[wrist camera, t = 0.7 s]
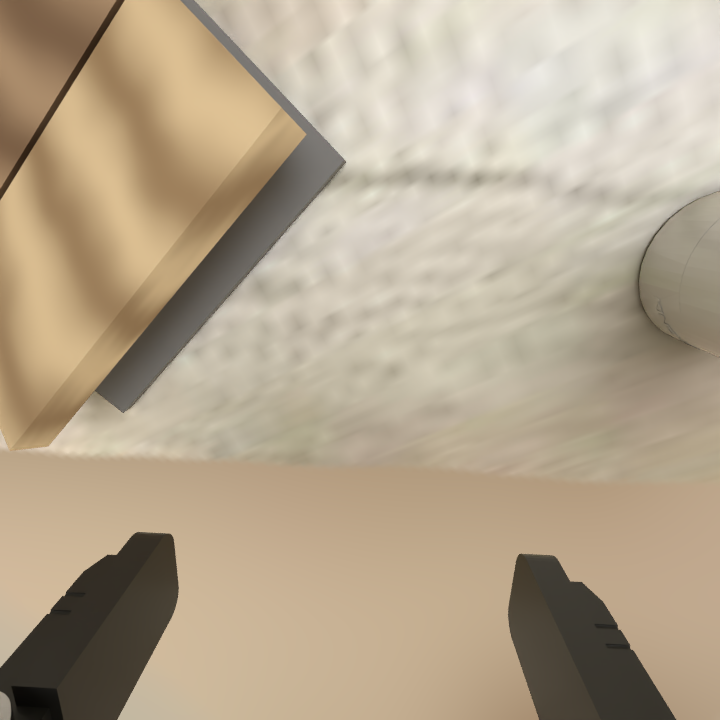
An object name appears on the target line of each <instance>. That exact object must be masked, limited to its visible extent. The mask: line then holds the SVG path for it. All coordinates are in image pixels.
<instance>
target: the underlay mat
mask: <svg viewBox="0 0 720 720" xmlns="http://www.w3.org/2000/svg"><path fill="white" fill-rule="evenodd" d="M181 1H182V3H183V4H184V5H185V6H186V7H187V8H188V9H189V10H190V11H191V12H192V13H193V14H194V15H195V16H196V17H197V18H198V20H199V21H200V22H201V23H202V24H203V25H204V26H205V27H206V28H207V29H208V30H209V31H210V32H211V33H212V34H213V35H214V36H215V38H216V39H217V40H218V41H219V42H220V43H221V44H222V45H223V46H224V47H225V48H226V49H227V50H228V51H229V52H230V53H231V55H232V56H233V57H234V58H235V59H236V60H237V61H238V62H239V63H240V64H241V65H242V66H243V67H244V68H245V69H246V70H247V72H248V73H249V74H250V75H251V76H252V77H253V78H254V79H255V80H256V81H257V82H258V83H259V84H260V85H261V86H262V87H263V88H264V90H265V91H266V92H267V93H268V94H269V95H270V96H271V97H272V98H273V99H274V100H275V101H276V102H277V103H278V104H279V105H280V107H281V108H282V109H283V110H284V111H285V112H286V113H287V114H288V115H289V116H290V117H291V118H292V119H293V120H294V121H295V122H296V124H297V125H298V126H299V127H300V128H301V129H302V130H303V131H304V132H305V133H306V134H307V135H306V136H305V137H304V138H303V139H302V141H301V142H300V143H299V144H298V145H297V147H296V148H295V149H294V150H293V152H292V153H291V154H290V155H289V156H288V158H287V159H286V160H285V161H284V162H283V164H282V165H281V166H280V167H279V168H278V170H277V171H276V172H275V173H274V174H273V176H272V177H271V178H270V179H269V180H268V182H267V183H266V184H265V185H264V187H263V188H262V189H261V190H260V191H259V193H258V194H257V195H256V196H255V197H254V199H253V200H252V201H251V202H250V203H249V205H248V206H247V207H246V208H245V209H244V211H243V212H242V213H241V214H240V215H239V217H238V218H237V219H236V220H235V222H234V223H233V224H232V225H231V226H230V228H229V229H228V230H227V231H226V232H225V234H224V235H223V236H222V237H221V238H220V240H219V241H218V242H217V243H216V244H215V246H214V247H213V248H212V249H211V251H210V252H209V253H208V254H207V255H206V257H205V258H204V259H203V260H202V261H201V263H200V264H199V265H198V266H197V267H196V269H195V270H194V271H193V272H192V273H191V275H190V276H189V277H188V278H187V279H186V281H185V282H184V283H183V284H182V286H181V287H180V288H179V289H178V290H177V292H176V293H175V294H174V295H173V296H172V298H171V299H170V300H169V301H168V302H167V304H166V305H165V306H164V307H163V308H162V310H161V311H160V312H159V313H158V314H157V316H156V317H155V318H154V319H153V321H152V322H151V323H150V324H149V325H148V327H147V328H146V329H145V330H144V331H143V333H142V334H141V335H140V336H139V337H138V339H137V340H136V341H135V342H134V343H133V345H132V346H131V347H130V348H129V350H128V351H127V352H126V353H125V354H124V356H123V357H122V358H121V359H120V360H119V362H118V363H117V364H116V365H115V366H114V368H113V369H112V370H111V371H110V372H109V374H108V375H107V376H106V377H105V378H104V380H103V381H102V382H101V383H100V385H99V386H98V387H97V388H96V389H95V391H96V392H98V393H99V394H100V395H101V396H103V397H104V398H105V399H106V400H108V401H109V402H110V403H111V404H113V405H114V406H115V407H116V408H118V409H119V410H120V411H121V412H123V413H124V412H125V411H127V410H128V409H129V408H130V407H132V405H133V404H134V403H135V402H136V401H137V400H138V399H139V397H140V396H141V395H142V394H143V393H144V392H145V391H146V389H147V388H148V387H149V386H150V385H151V384H152V383H153V381H154V380H155V379H156V378H157V377H158V376H159V375H160V374H161V372H162V371H163V370H164V369H165V368H166V367H167V366H168V364H169V363H170V362H171V361H172V360H173V359H174V358H175V356H176V355H177V354H178V353H179V352H180V351H181V350H182V348H183V347H184V346H185V345H186V344H187V343H188V342H189V340H190V339H191V338H192V337H193V336H194V335H195V334H196V333H197V331H198V330H199V329H200V328H201V327H202V326H203V325H204V323H205V322H206V321H207V320H208V319H209V318H210V317H211V315H212V314H213V313H214V312H215V311H216V310H217V309H218V307H219V306H220V305H221V304H222V303H223V302H224V301H225V299H226V298H227V297H228V296H229V295H230V294H231V293H232V291H233V290H234V289H235V288H236V287H237V286H238V285H239V284H240V282H241V281H242V280H243V279H244V278H245V277H246V276H247V274H248V273H249V272H250V271H251V270H252V269H253V268H254V266H255V265H256V264H257V263H258V262H259V261H260V260H261V258H262V257H263V256H264V255H265V254H266V253H267V252H268V250H269V249H270V248H271V247H272V246H273V245H274V244H275V243H276V241H277V240H278V239H279V238H280V237H281V236H282V235H283V233H284V232H285V231H286V230H287V229H288V228H289V227H290V225H291V224H292V223H293V222H294V221H295V220H296V219H297V217H298V216H299V215H300V214H301V213H302V212H303V211H304V209H305V208H306V207H307V206H308V205H309V204H310V203H311V202H312V200H313V199H314V198H315V197H316V196H317V195H318V194H319V192H320V191H321V190H322V189H323V188H324V187H325V186H326V184H327V183H328V182H329V181H330V180H331V179H332V178H333V176H334V175H335V174H336V173H337V172H338V171H339V170H340V168H341V167H342V166H343V165H344V164H345V163H346V161H345V160H344V159H343V158H342V157H341V156H340V155H339V153H338V152H337V151H336V150H335V149H334V148H333V147H332V146H331V145H330V144H329V143H328V142H327V141H326V140H325V139H324V138H323V137H322V135H321V134H320V133H319V132H318V131H317V130H316V129H315V128H314V127H313V126H312V125H311V124H310V123H309V122H308V121H307V120H306V118H305V117H304V116H303V115H302V114H301V113H300V112H299V111H298V110H297V109H296V108H295V107H294V106H293V105H292V104H291V103H290V102H289V100H288V99H287V98H286V97H285V96H284V95H283V94H282V93H281V92H280V91H279V90H278V89H277V88H276V87H275V86H274V85H273V83H272V82H271V81H270V80H269V79H268V78H267V77H266V76H265V75H264V74H263V73H262V72H261V71H260V70H259V69H258V68H257V66H256V65H255V64H254V63H253V62H252V61H251V60H250V59H249V58H248V57H247V56H246V55H245V54H244V53H243V52H242V51H241V50H240V48H239V47H238V46H237V45H236V44H235V43H234V42H233V41H232V40H231V39H230V38H229V37H228V36H227V35H226V34H225V33H224V31H223V30H222V29H221V28H220V27H219V26H218V25H217V24H216V23H215V22H214V21H213V20H212V19H211V18H210V17H209V16H208V14H207V13H206V12H205V11H204V10H203V9H202V8H201V7H200V6H199V5H198V4H197V3H196V2H195V1H194V0H181Z"/></svg>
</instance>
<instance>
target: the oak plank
mask: <svg viewBox="0 0 720 720" xmlns="http://www.w3.org/2000/svg"><path fill="white" fill-rule="evenodd" d="M306 135H307V134H306V133H305V132H304V131H303V130H302V129H301V128H300V127H299V126H298V125H297V124H296V122H295V121H294V120H293V119H292V118H291V117H290V116H289V115H288V114H287V113H286V112H285V111H284V110H283V109H282V108H281V107H280V105H279V104H278V103H277V102H276V101H275V100H274V99H273V98H272V97H271V96H270V95H269V94H268V93H267V92H266V91H265V90H264V88H263V87H262V86H261V85H260V84H259V83H258V82H257V81H256V80H255V79H254V78H253V77H252V76H251V75H250V74H249V73H248V72H247V70H246V69H245V68H244V67H243V66H242V65H241V64H240V63H239V62H238V61H237V60H236V59H235V58H234V57H233V56H232V55H231V53H230V52H229V51H228V50H227V49H226V48H225V47H224V46H223V45H222V44H221V43H220V42H219V41H218V40H217V39H216V38H215V36H214V35H213V34H212V33H211V32H210V31H209V30H208V29H207V28H206V27H205V26H204V25H203V24H202V23H201V22H200V21H199V20H198V18H197V17H196V16H195V15H194V14H193V13H192V12H191V11H190V10H189V9H188V8H187V7H186V6H185V5H184V4H183V3H182V1H181V0H125V1H124V2H123V4H122V5H121V7H120V9H119V10H118V12H117V14H116V15H115V17H114V18H113V20H112V22H111V23H110V25H109V26H108V28H107V30H106V31H105V33H104V34H103V36H102V38H101V39H100V41H99V42H98V44H97V46H96V47H95V49H94V51H93V52H92V54H91V55H90V57H89V59H88V60H87V62H86V63H85V65H84V67H83V68H82V70H81V71H80V73H79V75H78V76H77V78H76V79H75V81H74V83H73V84H72V86H71V87H70V89H69V91H68V92H67V94H66V96H65V97H64V99H63V100H62V102H61V104H60V105H59V107H58V108H57V110H56V112H55V113H54V115H53V116H52V118H51V120H50V121H49V123H48V124H47V126H46V128H45V129H44V131H43V133H42V134H41V136H40V137H39V139H38V141H37V142H36V144H35V145H34V147H33V149H32V150H31V152H30V153H29V155H28V157H27V158H26V160H25V161H24V163H23V165H22V166H21V168H20V170H19V171H18V173H17V174H16V176H15V178H14V179H13V181H12V182H11V184H10V186H9V187H8V189H7V190H6V192H5V194H4V195H3V197H2V198H1V200H0V429H1V431H2V433H3V436H4V438H5V441H6V443H7V445H8V448H9V450H10V451H13V450H21V449H30V448H38V447H47V446H49V445H50V444H51V442H52V441H53V440H54V439H55V438H56V436H57V435H58V434H59V433H60V432H61V430H62V429H63V428H64V427H65V426H66V424H67V423H68V422H69V421H70V420H71V418H72V417H73V416H74V415H75V413H76V412H77V411H78V410H79V409H80V407H81V406H82V405H83V404H84V403H85V401H86V400H87V399H88V398H89V397H90V395H91V394H92V393H93V392H94V391H95V389H96V388H97V387H98V386H99V385H100V383H101V382H102V381H103V380H104V378H105V377H106V376H107V375H108V374H109V372H110V371H111V370H112V369H113V368H114V366H115V365H116V364H117V363H118V362H119V360H120V359H121V358H122V357H123V356H124V354H125V353H126V352H127V351H128V350H129V348H130V347H131V346H132V345H133V343H134V342H135V341H136V340H137V339H138V337H139V336H140V335H141V334H142V333H143V331H144V330H145V329H146V328H147V327H148V325H149V324H150V323H151V322H152V321H153V319H154V318H155V317H156V316H157V314H158V313H159V312H160V311H161V310H162V308H163V307H164V306H165V305H166V304H167V302H168V301H169V300H170V299H171V298H172V296H173V295H174V294H175V293H176V292H177V290H178V289H179V288H180V287H181V286H182V284H183V283H184V282H185V281H186V279H187V278H188V277H189V276H190V275H191V273H192V272H193V271H194V270H195V269H196V267H197V266H198V265H199V264H200V263H201V261H202V260H203V259H204V258H205V257H206V255H207V254H208V253H209V252H210V251H211V249H212V248H213V247H214V246H215V244H216V243H217V242H218V241H219V240H220V238H221V237H222V236H223V235H224V234H225V232H226V231H227V230H228V229H229V228H230V226H231V225H232V224H233V223H234V222H235V220H236V219H237V218H238V217H239V215H240V214H241V213H242V212H243V211H244V209H245V208H246V207H247V206H248V205H249V203H250V202H251V201H252V200H253V199H254V197H255V196H256V195H257V194H258V193H259V191H260V190H261V189H262V188H263V187H264V185H265V184H266V183H267V182H268V180H269V179H270V178H271V177H272V176H273V174H274V173H275V172H276V171H277V170H278V168H279V167H280V166H281V165H282V164H283V162H284V161H285V160H286V159H287V158H288V156H289V155H290V154H291V153H292V152H293V150H294V149H295V148H296V147H297V145H298V144H299V143H300V142H301V141H302V139H303V138H304V137H305V136H306Z"/></svg>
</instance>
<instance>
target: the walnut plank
mask: <svg viewBox="0 0 720 720" xmlns="http://www.w3.org/2000/svg"><path fill="white" fill-rule="evenodd" d="M124 1H125V0H0V200H1V198H2V197H3V195H4V194H5V192H6V190H7V189H8V187H9V186H10V184H11V182H12V181H13V179H14V178H15V176H16V174H17V173H18V171H19V170H20V168H21V166H22V165H23V163H24V161H25V160H26V158H27V157H28V155H29V153H30V152H31V150H32V149H33V147H34V145H35V144H36V142H37V141H38V139H39V137H40V136H41V134H42V133H43V131H44V129H45V128H46V126H47V124H48V123H49V121H50V120H51V118H52V116H53V115H54V113H55V112H56V110H57V108H58V107H59V105H60V104H61V102H62V100H63V99H64V97H65V96H66V94H67V92H68V91H69V89H70V87H71V86H72V84H73V83H74V81H75V79H76V78H77V76H78V75H79V73H80V71H81V70H82V68H83V67H84V65H85V63H86V62H87V60H88V59H89V57H90V55H91V54H92V52H93V51H94V49H95V47H96V46H97V44H98V42H99V41H100V39H101V38H102V36H103V34H104V33H105V31H106V30H107V28H108V26H109V25H110V23H111V22H112V20H113V18H114V17H115V15H116V14H117V12H118V10H119V9H120V7H121V5H122V4H123V2H124Z"/></svg>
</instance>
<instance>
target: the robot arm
mask: <svg viewBox="0 0 720 720" xmlns="http://www.w3.org/2000/svg"><path fill="white" fill-rule="evenodd" d="M639 290H640V298H641V301H642V304H643V307H644V310H645V312H646V313H647V315H648V317H649V318H650V320H651V321H652V322H653V323H654V324H655V325H656V326H657V327H658V328H659V329H660V330H661V331H663V332H665V333H667V334H668V335H670V336H672V337H674V338H676V339H679V340H681V341H683V342H684V343H686V344H688V345H691V346H693V347H695V348H697V349H702V350H704V351H706V352H709V353H711V354H713V355H715V356H717V357H720V191H718V192H716V193H713V194H710V195H707V196H704V197H702V198H699V199H698V200H696V201H694V202H692V203H691V204H689V205H687V206H685V207H684V208H682V209H681V210H680V211H679V212H678V213H676V214H675V215H674V216H673V217H672V218H670V219H669V220H668V221H667V222H666V224H665V225H664V226H663V227H662V228H661V229H660V231H659V232H658V233H657V234H656V236H655V237H654V239H653V241H652V242H651V244H650V246H649V247H648V249H647V252H646V254H645V257H644V260H643V262H642V265H641V271H640V278H639ZM175 557H176V556H175V548H174V539H173V537H172V535H171V534H165V533H164V534H163V533H146V532H137V533H135V534H134V535H133V536H132V537H131V538H130V539H129V540H128V542H127V543H126V544H125V545H124V546H123V548H122V549H121V550H120V551H119V553H118V554H117V555H107V556H106V557H104V558H102V559H101V560H100V561H98V562H97V563H95V564H94V565H92V566H91V567H90V568H88V569H87V570H85V571H84V572H83V573H82V574H81V575H80V577H79V578H78V579H77V580H76V581H75V582H74V583H73V585H72V586H71V587H70V588H69V589H68V590H67V592H66V595H65V596H62V597H61V598H60V600H59V601H58V602H57V603H56V604H55V605H54V607H53V608H52V609H51V612H50V614H47V615H46V616H45V617H44V618H43V619H42V621H41V622H40V623H39V624H38V625H37V626H36V627H35V628H34V630H33V631H32V632H31V633H30V634H29V635H28V637H27V638H26V639H25V640H24V641H23V642H22V644H21V645H20V646H19V647H18V648H17V649H16V650H15V652H14V653H13V654H12V655H11V656H10V658H9V659H8V660H7V661H6V662H5V663H4V664H3V666H2V667H1V668H0V720H117V719H118V717H119V715H120V713H121V711H122V710H123V708H124V706H125V704H126V702H127V700H128V698H129V696H130V694H131V693H132V691H133V689H134V687H135V685H136V683H137V681H138V679H139V677H140V676H141V674H142V672H143V670H144V668H145V666H146V664H147V663H148V661H149V659H150V657H151V655H152V653H153V651H154V649H155V648H156V646H157V644H158V642H159V640H160V638H161V636H162V634H163V633H164V630H165V629H166V627H167V625H168V623H169V621H170V619H171V617H172V615H173V613H174V610H175V607H176V603H177V598H178V589H179V587H178V576H177V566H176V558H175ZM508 617H509V627H510V633H511V637H512V640H513V643H514V646H515V649H516V652H517V655H518V658H519V660H520V664H521V667H522V670H523V673H524V676H525V679H526V682H527V685H528V688H529V690H530V693H531V696H532V699H533V702H534V705H535V708H536V711H537V714H538V717H539V720H676V719H675V717H674V715H673V714H672V712H671V711H670V709H669V707H668V706H667V704H666V702H665V701H664V700H663V698H662V696H661V694H660V693H659V691H658V690H657V688H656V686H655V685H654V684H653V682H652V680H651V678H650V677H649V675H648V673H647V672H646V670H645V669H644V667H643V665H642V664H641V662H640V661H639V659H638V657H637V656H636V654H635V652H634V651H633V650H631V649H630V644H629V643H628V641H627V640H626V638H625V636H624V635H623V633H622V632H621V630H618V625H617V623H616V622H615V620H614V619H613V617H612V616H611V614H610V612H609V611H608V609H607V607H606V606H605V604H604V603H603V601H602V600H600V599H599V598H598V597H597V596H596V595H595V594H594V593H593V592H592V591H591V590H590V589H588V588H587V587H586V586H585V585H584V584H583V583H582V582H570V580H569V579H568V577H567V575H566V573H565V572H564V570H563V568H562V566H561V565H560V563H559V561H558V560H557V558H556V557H555V556H550V555H533V554H519V555H518V557H517V560H516V565H515V572H514V577H513V583H512V589H511V595H510V601H509V611H508Z"/></svg>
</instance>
